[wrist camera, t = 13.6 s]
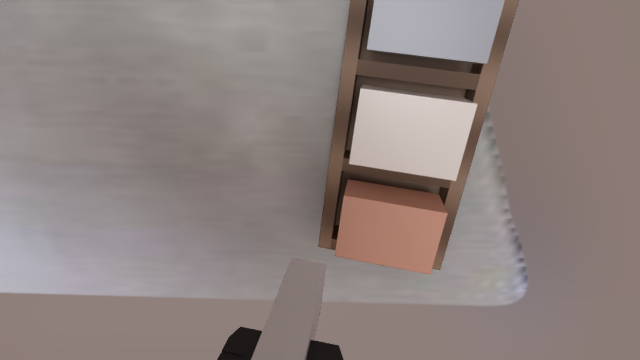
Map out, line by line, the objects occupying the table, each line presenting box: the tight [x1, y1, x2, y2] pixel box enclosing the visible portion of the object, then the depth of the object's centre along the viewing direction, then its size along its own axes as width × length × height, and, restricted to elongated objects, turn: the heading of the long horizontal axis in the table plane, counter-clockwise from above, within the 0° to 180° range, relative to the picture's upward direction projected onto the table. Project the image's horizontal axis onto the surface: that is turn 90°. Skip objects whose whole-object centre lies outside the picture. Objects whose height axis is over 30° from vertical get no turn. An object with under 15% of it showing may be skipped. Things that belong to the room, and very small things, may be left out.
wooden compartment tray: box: [318, 0, 519, 270], centre depth 25 cm, size 22×10×3 cm, turn 173°
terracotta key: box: [335, 179, 448, 274], centre depth 24 cm, size 5×7×3 cm
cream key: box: [349, 85, 477, 181], centre depth 22 cm, size 5×7×3 cm
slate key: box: [367, 0, 505, 64], centre depth 20 cm, size 5×7×3 cm
